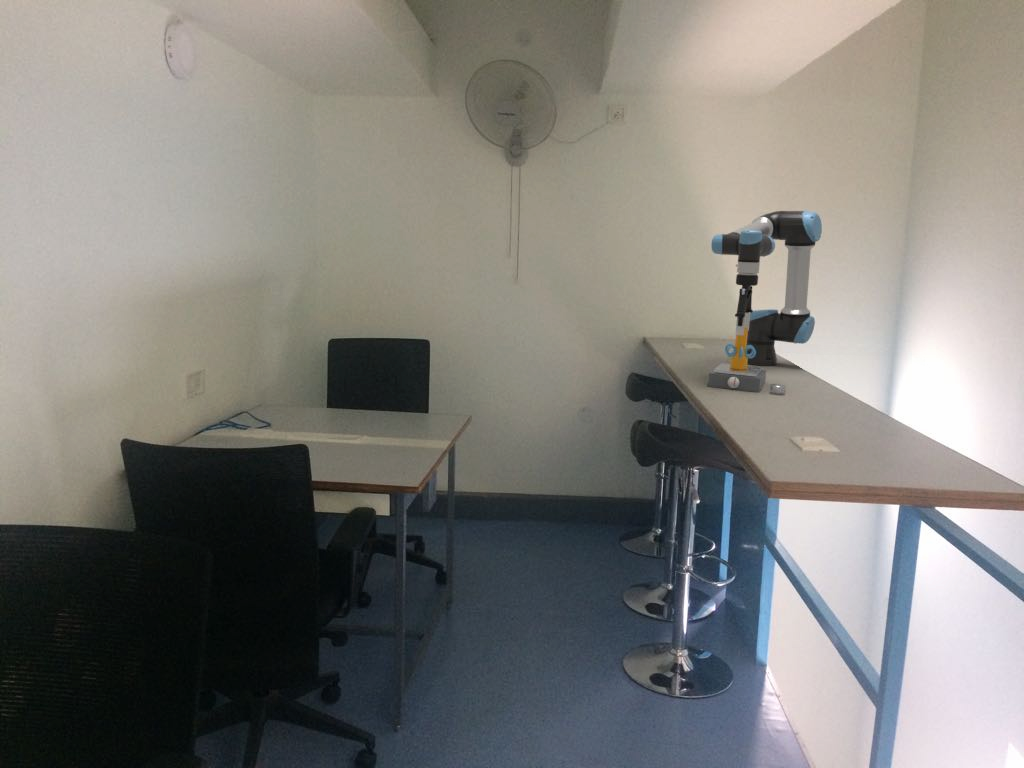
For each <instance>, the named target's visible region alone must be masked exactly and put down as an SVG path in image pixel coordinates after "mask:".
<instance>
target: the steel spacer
mask: <svg viewBox="0 0 1024 768" xmlns="http://www.w3.org/2000/svg"><path fill="white" fill-rule="evenodd" d="M769 387H770V389H769V394H771V395H776V396H785V394H786V389H787V388H786V385H784V384H780V383H772V384H770V386H769Z"/></svg>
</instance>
